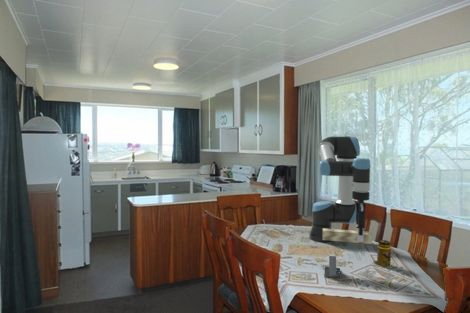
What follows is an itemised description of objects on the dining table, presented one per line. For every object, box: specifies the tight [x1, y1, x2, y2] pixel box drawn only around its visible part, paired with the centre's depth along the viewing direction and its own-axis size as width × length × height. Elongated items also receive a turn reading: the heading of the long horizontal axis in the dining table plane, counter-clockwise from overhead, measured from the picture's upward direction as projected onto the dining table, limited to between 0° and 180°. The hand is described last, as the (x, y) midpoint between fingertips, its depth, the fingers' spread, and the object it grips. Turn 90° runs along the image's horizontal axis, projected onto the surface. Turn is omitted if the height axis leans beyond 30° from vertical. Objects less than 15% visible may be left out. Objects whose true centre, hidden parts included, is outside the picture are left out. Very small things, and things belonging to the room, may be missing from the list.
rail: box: [324, 255, 342, 279], centre depth 150 cm, size 10×7×6 cm
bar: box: [323, 228, 373, 245], centre depth 154 cm, size 22×4×4 cm, turn 75°
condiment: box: [371, 239, 393, 269], centre depth 161 cm, size 7×8×12 cm
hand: (359, 240), depth 152 cm, fingers closed on bar, 4 cm apart
